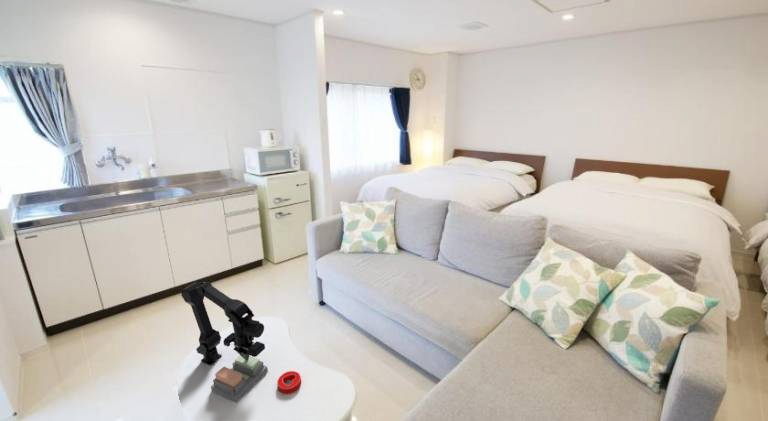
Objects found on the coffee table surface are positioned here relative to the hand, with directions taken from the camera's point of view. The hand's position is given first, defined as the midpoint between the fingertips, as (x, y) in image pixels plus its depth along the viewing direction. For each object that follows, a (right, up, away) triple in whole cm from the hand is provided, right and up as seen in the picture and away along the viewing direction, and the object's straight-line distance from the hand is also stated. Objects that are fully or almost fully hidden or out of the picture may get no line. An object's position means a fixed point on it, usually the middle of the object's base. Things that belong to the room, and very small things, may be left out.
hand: (246, 359), depth 148 cm
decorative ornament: (+20, -9, -4) cm, 23 cm away
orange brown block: (-4, -6, -8) cm, 10 cm away
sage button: (0, -4, +1) cm, 4 cm away
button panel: (-2, -8, -2) cm, 9 cm away
